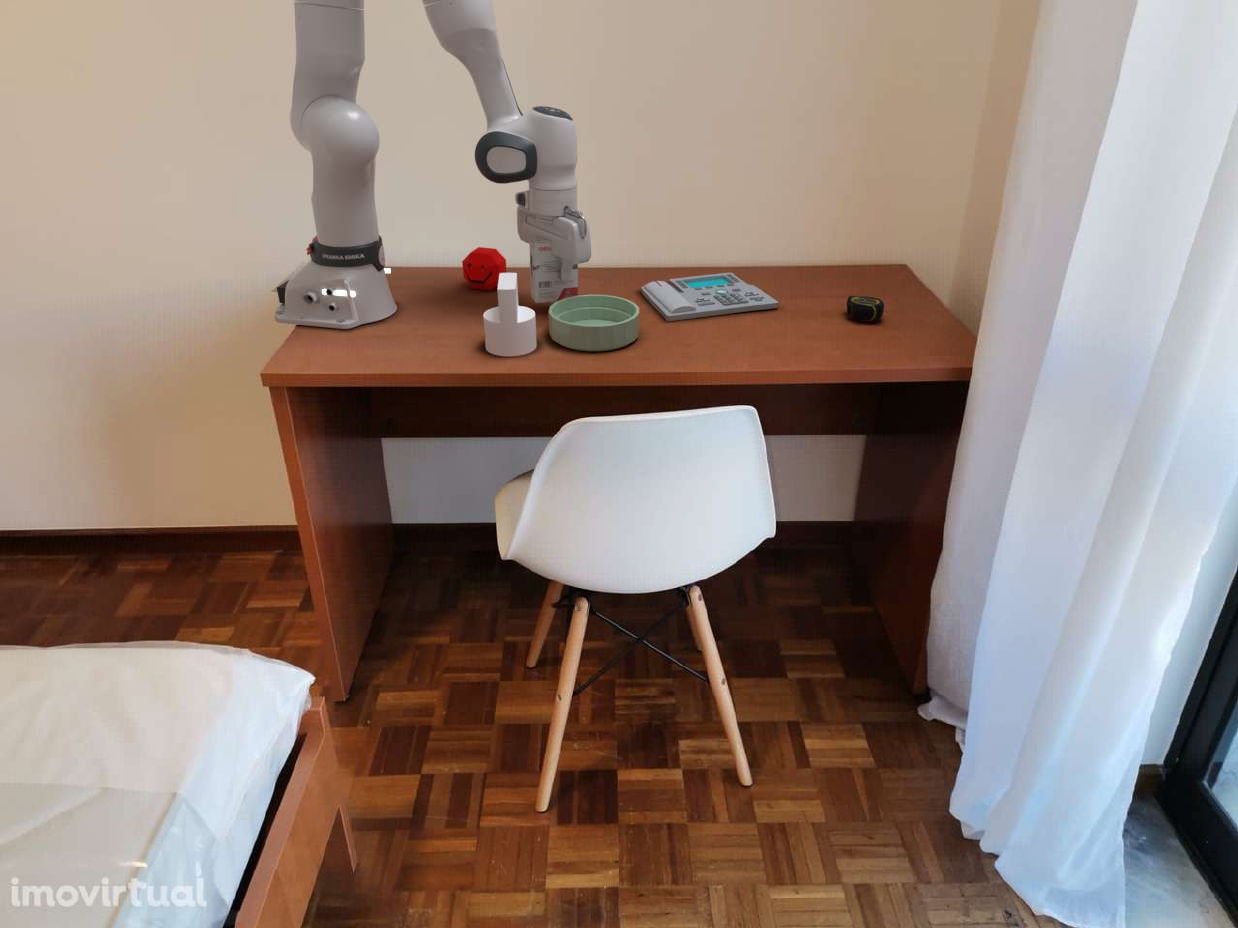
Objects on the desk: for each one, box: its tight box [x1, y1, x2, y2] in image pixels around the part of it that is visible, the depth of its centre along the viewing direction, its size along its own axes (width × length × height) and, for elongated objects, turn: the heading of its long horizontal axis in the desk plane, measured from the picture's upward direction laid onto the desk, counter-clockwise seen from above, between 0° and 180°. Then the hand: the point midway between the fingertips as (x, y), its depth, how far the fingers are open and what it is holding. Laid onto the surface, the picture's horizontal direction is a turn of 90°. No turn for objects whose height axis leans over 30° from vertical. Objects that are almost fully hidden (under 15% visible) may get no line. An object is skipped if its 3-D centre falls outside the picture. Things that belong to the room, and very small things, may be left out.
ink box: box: [528, 237, 579, 304], centre depth 172 cm, size 8×5×12 cm, turn 107°
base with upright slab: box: [482, 272, 538, 357], centre depth 157 cm, size 9×9×12 cm
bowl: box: [548, 294, 640, 352], centre depth 163 cm, size 16×16×5 cm
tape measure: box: [846, 295, 885, 323], centre depth 172 cm, size 7×7×4 cm
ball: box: [461, 246, 508, 291], centre depth 186 cm, size 8×8×8 cm
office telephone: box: [640, 272, 779, 322], centre depth 181 cm, size 23×3×20 cm
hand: (553, 274), depth 173 cm, fingers closed on ink box, 6 cm apart
